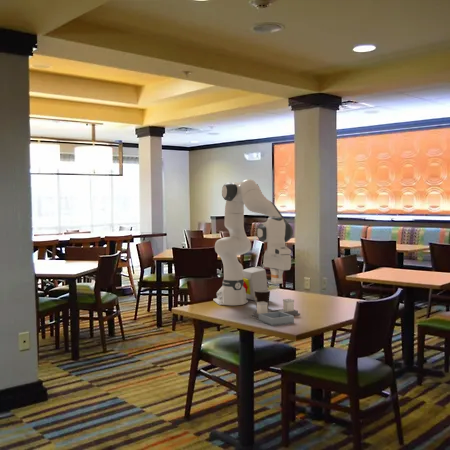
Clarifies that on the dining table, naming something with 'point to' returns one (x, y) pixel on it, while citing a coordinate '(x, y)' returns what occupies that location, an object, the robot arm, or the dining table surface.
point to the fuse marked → (275, 276)
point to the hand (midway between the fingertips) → (276, 277)
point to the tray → (276, 318)
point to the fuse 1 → (262, 307)
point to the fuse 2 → (288, 304)
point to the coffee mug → (262, 296)
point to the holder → (293, 313)
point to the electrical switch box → (254, 281)
